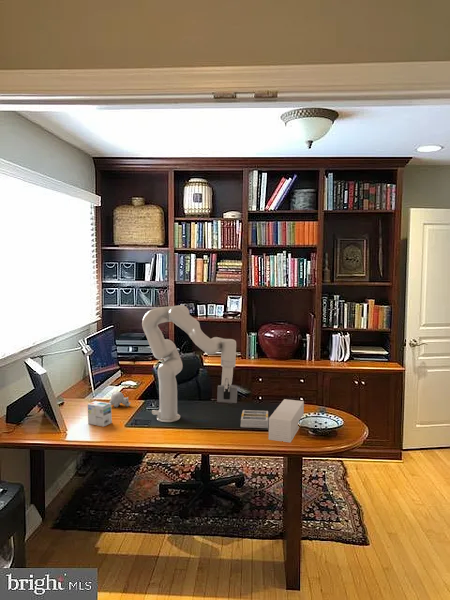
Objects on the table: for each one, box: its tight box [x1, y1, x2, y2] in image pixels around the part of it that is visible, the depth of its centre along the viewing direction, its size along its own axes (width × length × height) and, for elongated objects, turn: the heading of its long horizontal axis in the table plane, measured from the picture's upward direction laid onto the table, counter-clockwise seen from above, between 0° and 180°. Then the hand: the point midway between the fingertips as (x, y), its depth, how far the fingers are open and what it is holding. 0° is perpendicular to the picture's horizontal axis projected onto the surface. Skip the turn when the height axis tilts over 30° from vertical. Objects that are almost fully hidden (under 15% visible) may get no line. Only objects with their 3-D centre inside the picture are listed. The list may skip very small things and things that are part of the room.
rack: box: [240, 409, 269, 429], centre depth 247 cm, size 14×16×4 cm
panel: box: [216, 384, 238, 404], centre depth 243 cm, size 10×2×8 cm, turn 84°
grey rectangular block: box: [268, 398, 305, 443], centre depth 237 cm, size 32×11×11 cm, turn 160°
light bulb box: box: [87, 400, 113, 428], centre depth 245 cm, size 11×7×11 cm, turn 65°
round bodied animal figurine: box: [108, 391, 132, 408], centre depth 274 cm, size 7×12×8 cm, turn 84°
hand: (227, 397), depth 243 cm, fingers closed on panel, 2 cm apart
